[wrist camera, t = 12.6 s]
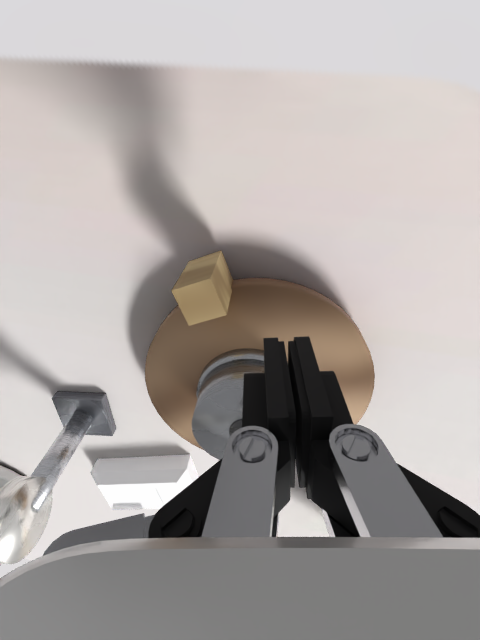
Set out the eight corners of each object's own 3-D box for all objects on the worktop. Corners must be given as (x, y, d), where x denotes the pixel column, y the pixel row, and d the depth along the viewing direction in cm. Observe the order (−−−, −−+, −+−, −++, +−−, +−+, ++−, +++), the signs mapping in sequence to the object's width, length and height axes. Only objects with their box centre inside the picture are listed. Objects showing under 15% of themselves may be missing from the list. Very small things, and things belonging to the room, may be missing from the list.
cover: (243, 438, 24) (240, 483, 21) (177, 382, 21) (163, 423, 18) (321, 397, 21) (330, 441, 18) (256, 329, 19) (254, 366, 16)
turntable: (384, 430, 24) (403, 479, 21) (201, 462, 27) (192, 509, 24) (338, 210, 16) (357, 231, 13) (94, 293, 20) (58, 326, 16)
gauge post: (71, 427, 28) (-26, 575, 19) (56, 389, 26) (-63, 535, 16) (116, 429, 28) (40, 580, 18) (105, 391, 25) (12, 540, 16)
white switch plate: (203, 483, 31) (198, 511, 29) (117, 486, 33) (106, 513, 30) (191, 450, 29) (184, 477, 27) (99, 455, 30) (85, 481, 28)
